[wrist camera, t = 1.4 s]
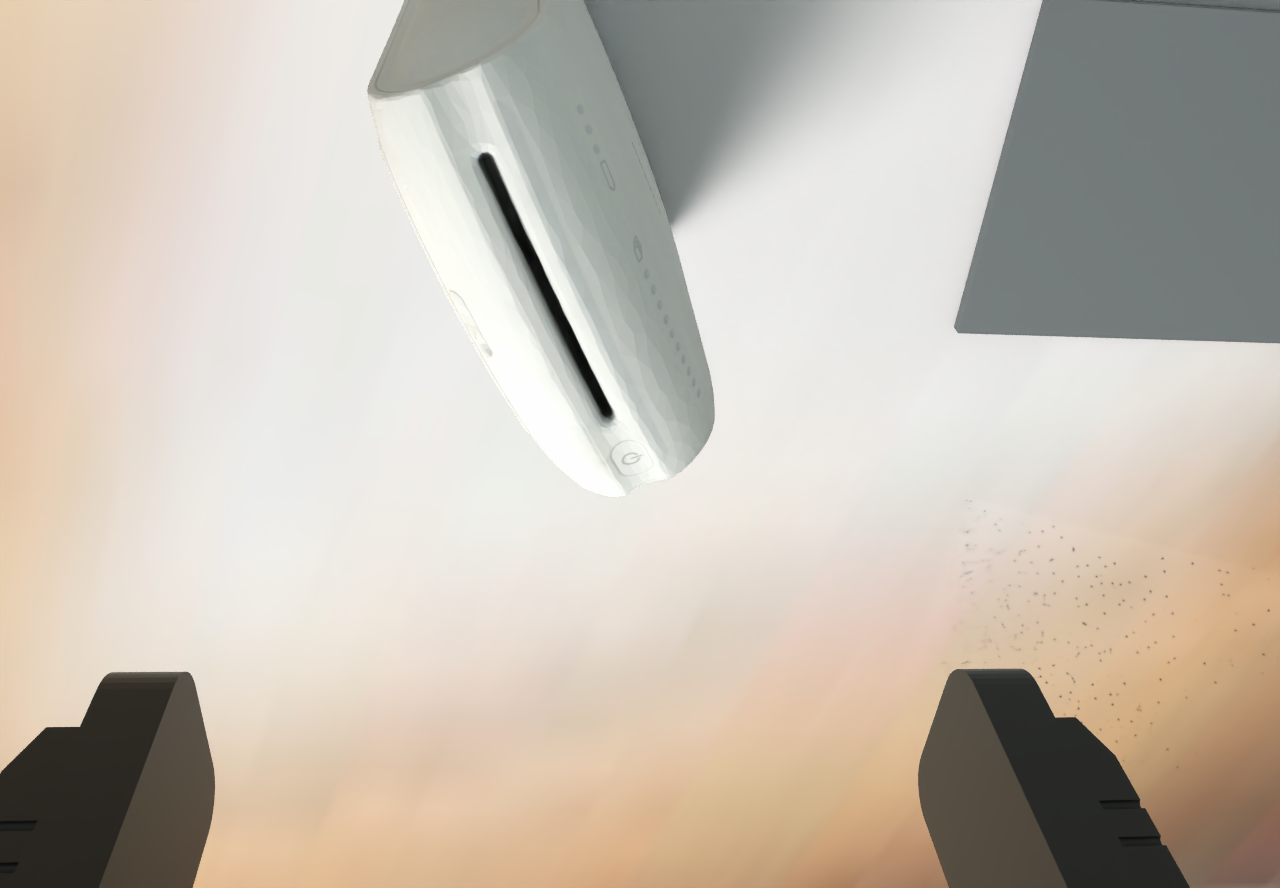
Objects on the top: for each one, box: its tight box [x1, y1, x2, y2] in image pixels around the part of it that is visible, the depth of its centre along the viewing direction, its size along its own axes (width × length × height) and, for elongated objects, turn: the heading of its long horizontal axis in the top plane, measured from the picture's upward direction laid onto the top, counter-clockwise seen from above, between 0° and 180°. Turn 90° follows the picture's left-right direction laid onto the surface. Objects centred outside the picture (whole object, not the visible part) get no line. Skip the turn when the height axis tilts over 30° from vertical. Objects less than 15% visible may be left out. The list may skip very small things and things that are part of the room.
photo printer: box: [367, 0, 714, 497], centre depth 24 cm, size 10×4×12 cm, turn 21°
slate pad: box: [954, 0, 1280, 343], centre depth 32 cm, size 12×10×1 cm
